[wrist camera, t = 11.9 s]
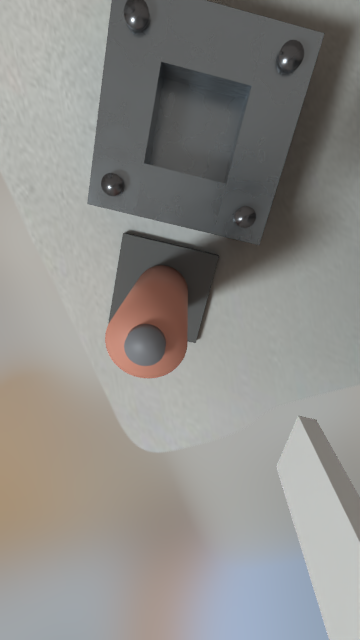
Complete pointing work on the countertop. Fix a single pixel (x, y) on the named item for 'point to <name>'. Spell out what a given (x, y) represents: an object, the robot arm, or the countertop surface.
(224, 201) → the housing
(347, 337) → the countertop surface
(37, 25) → the countertop surface
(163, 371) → the orange cylinder
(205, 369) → the countertop surface
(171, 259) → the rubber pad
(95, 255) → the countertop surface
